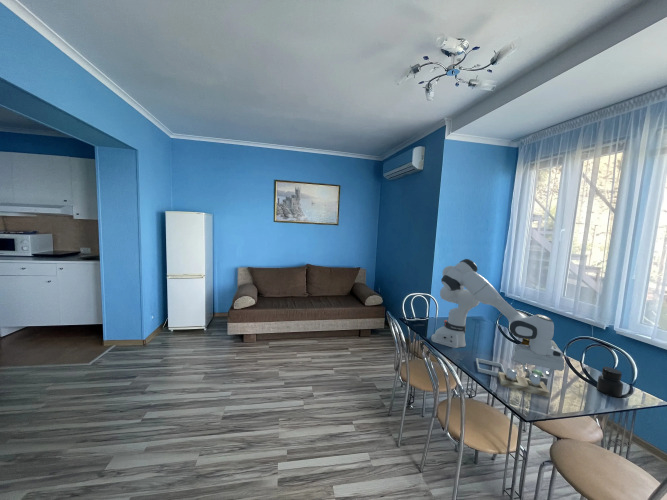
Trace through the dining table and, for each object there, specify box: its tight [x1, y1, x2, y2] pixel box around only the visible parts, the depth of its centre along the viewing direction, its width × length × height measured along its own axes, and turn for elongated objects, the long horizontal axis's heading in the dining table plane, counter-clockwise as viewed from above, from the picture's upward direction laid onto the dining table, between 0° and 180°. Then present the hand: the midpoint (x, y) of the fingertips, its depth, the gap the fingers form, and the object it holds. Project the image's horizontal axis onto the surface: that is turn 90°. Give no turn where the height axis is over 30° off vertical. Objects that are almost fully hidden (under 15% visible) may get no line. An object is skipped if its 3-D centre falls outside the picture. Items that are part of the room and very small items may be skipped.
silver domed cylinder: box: [505, 367, 518, 382], centre depth 139 cm, size 4×4×7 cm
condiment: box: [520, 338, 530, 345], centre depth 171 cm, size 7×8×12 cm
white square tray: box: [475, 357, 506, 377], centre depth 153 cm, size 13×13×2 cm
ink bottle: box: [596, 366, 624, 398], centre depth 136 cm, size 10×9×12 cm
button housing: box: [526, 368, 549, 386], centre depth 144 cm, size 7×7×4 cm
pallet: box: [497, 371, 551, 398], centre depth 137 cm, size 20×10×3 cm, turn 67°
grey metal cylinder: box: [528, 373, 541, 388], centre depth 135 cm, size 4×4×7 cm
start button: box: [532, 368, 543, 377], centre depth 144 cm, size 4×4×3 cm
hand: (536, 373), depth 135 cm, fingers open, 8 cm apart
